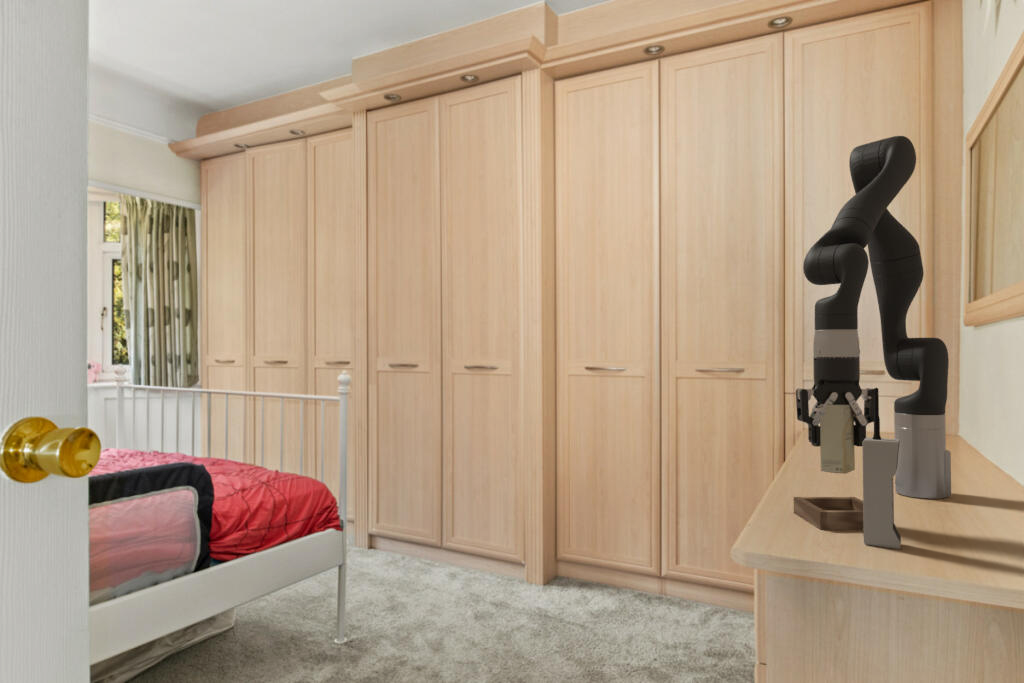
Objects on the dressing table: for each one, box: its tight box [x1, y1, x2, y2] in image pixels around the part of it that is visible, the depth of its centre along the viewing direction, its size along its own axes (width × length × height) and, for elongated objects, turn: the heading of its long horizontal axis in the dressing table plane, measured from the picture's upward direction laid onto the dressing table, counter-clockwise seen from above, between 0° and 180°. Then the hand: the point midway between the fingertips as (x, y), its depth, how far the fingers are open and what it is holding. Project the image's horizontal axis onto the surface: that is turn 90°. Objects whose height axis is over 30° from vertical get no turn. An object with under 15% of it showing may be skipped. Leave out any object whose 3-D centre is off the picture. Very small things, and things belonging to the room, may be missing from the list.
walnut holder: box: [793, 496, 864, 531], centre depth 118 cm, size 11×11×3 cm
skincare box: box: [819, 404, 856, 475], centre depth 118 cm, size 6×4×12 cm
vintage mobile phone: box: [861, 387, 902, 550], centre depth 104 cm, size 4×5×25 cm
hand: (836, 445), depth 118 cm, fingers closed on skincare box, 7 cm apart
